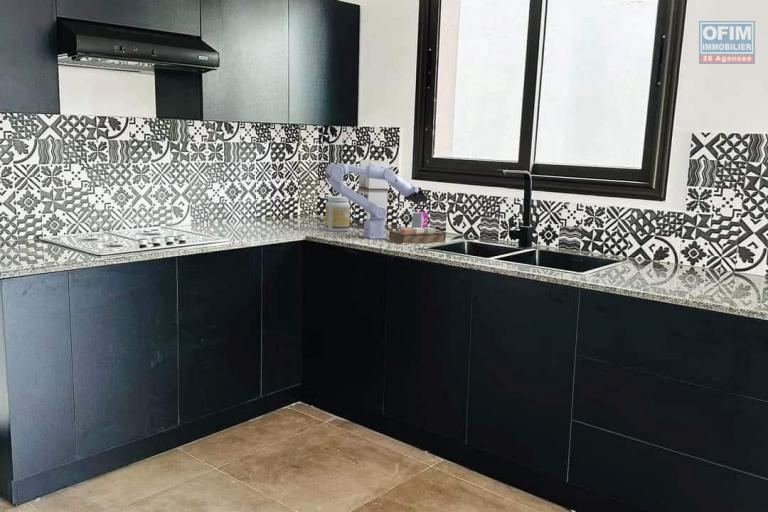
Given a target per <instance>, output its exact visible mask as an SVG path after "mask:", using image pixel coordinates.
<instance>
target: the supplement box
mask: <svg viewBox="0 0 768 512" xmlns="http://www.w3.org/2000/svg"><path fill="white" fill-rule="evenodd" d="M411 216H412V219H411V228H422V229H423V228H426V227H428V222H429V221H428V218H429V213H428V212H423V211H413V212H412V215H411Z"/></svg>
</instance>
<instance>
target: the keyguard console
mask: <svg viewBox="0 0 768 512" xmlns="http://www.w3.org/2000/svg"><path fill="white" fill-rule="evenodd" d="M446 236H447V234H446V232H442V231H438V230H436V231H435V232H431V233H427V232H424V233H414V232H413V233H401V232H400V230H389V233H388V241H392V242H394V241H395V242H394V243H397V242H399V243H398V244H401V243H417V244H430V243H429V242H439V243H445V242H446ZM444 241H445V242H444ZM427 242H428V243H427Z"/></svg>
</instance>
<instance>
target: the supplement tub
mask: <svg viewBox="0 0 768 512" xmlns="http://www.w3.org/2000/svg"><path fill="white" fill-rule="evenodd" d="M349 201H350V200H349V199H348V198H346V197H345V196H343V195H329V196H327V201H326V203H325V218H324V220H325V222H324V226H325V227H324V228H325V230H326V231H328V232H333V233H334V232H335V233H341V232H342V233H345V232H348V231H349V230H350V221H351V220H350V219H351V216H350V215H351V203H350V202H349Z"/></svg>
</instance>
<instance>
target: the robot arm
mask: <svg viewBox="0 0 768 512" xmlns="http://www.w3.org/2000/svg"><path fill="white" fill-rule="evenodd" d="M348 173H353V174H358V175H359V174H365V176H366V177H367V178H374V179H381V180H385V181H387V182H388V185H390V186H391V187H392V188H394V189H396V190H397V191H398V192H399V193H400V195H401V196H403V197H404V198H403V200H405V201H410V202H412V203H415V204H417V205H418V204H419V203H420V201H421V202H424V203H426V202H427V201H428V197H427V196H426V195H425V193H424V192H423V190H422V187H421V186H419V187H415V186H414V183H409V182H408V181H406V180H405V179H404V178H402V177H401V176H399V175H398V174H396V173H395V171H394V170H393V169H390V168H389V169H388V168H384V167H382V166H381V167H376V166H374V165H371V166H370V165H368V166H367V167H365V168H364V167H360V165H359V166H358V165H352V164H347V163H337V164H336V163H330V164H328V165H327V166H326V167H325V175H326V178H327V180H328V182H329V183H330V186H331V188H332V190H333V191H334V192H337V193H338V194H339V195H340V196H345V197H346V198H348V199H349V201H351V202H353V203H354V204H356V205H357V206H359V207H360V208H362V209H363V210H364V209H365V210H367V211H368V212H369V214H370V215H371V216H370V219H367V220H366V219H365V220H364V222H363V223H364V229H363V234H362V237H364V238H367V239H371V240H372V239H373V240H374V239H375V240H376V239H389V236H385V229H384V228H385V217H386V218H387V214H388V209H387V210H386V208H385V207H383V206H380V205H378V204H375V203H373V202H371V201H369V200H368V199H366V198H365V196H363V195H362V194H361V193H358V192H356V191H355V190H353V189H352V188H351V187H349V186H347V185H345V183H344V180H343V178H344V175H347V174H348Z"/></svg>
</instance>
